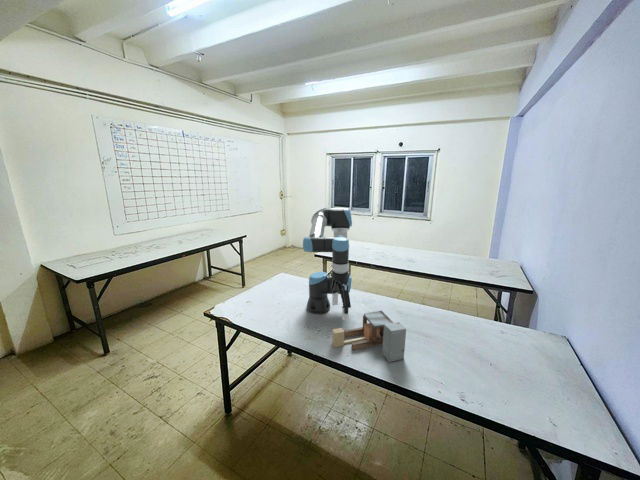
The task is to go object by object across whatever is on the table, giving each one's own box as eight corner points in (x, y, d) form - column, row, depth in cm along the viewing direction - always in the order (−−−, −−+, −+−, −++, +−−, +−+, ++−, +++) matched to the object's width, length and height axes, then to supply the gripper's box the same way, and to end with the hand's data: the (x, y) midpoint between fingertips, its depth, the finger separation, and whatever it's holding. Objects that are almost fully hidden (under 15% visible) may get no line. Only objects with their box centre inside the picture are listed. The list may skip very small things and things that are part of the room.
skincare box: (388, 362, 114) (390, 332, 110) (381, 352, 121) (382, 323, 117) (405, 359, 116) (407, 329, 112) (396, 349, 123) (398, 320, 119)
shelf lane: (343, 335, 134) (344, 316, 131) (380, 328, 140) (381, 310, 137) (352, 350, 123) (353, 330, 120) (392, 342, 128) (393, 322, 125)
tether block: (331, 341, 129) (331, 328, 127) (373, 333, 135) (374, 320, 133) (335, 349, 124) (335, 335, 122) (379, 340, 130) (380, 326, 128)
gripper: (324, 262, 127) (324, 300, 133) (342, 282, 104) (342, 327, 110) (338, 261, 129) (338, 298, 135) (359, 280, 106) (357, 324, 112)
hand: (339, 311), depth 122 cm, fingers open, 13 cm apart
